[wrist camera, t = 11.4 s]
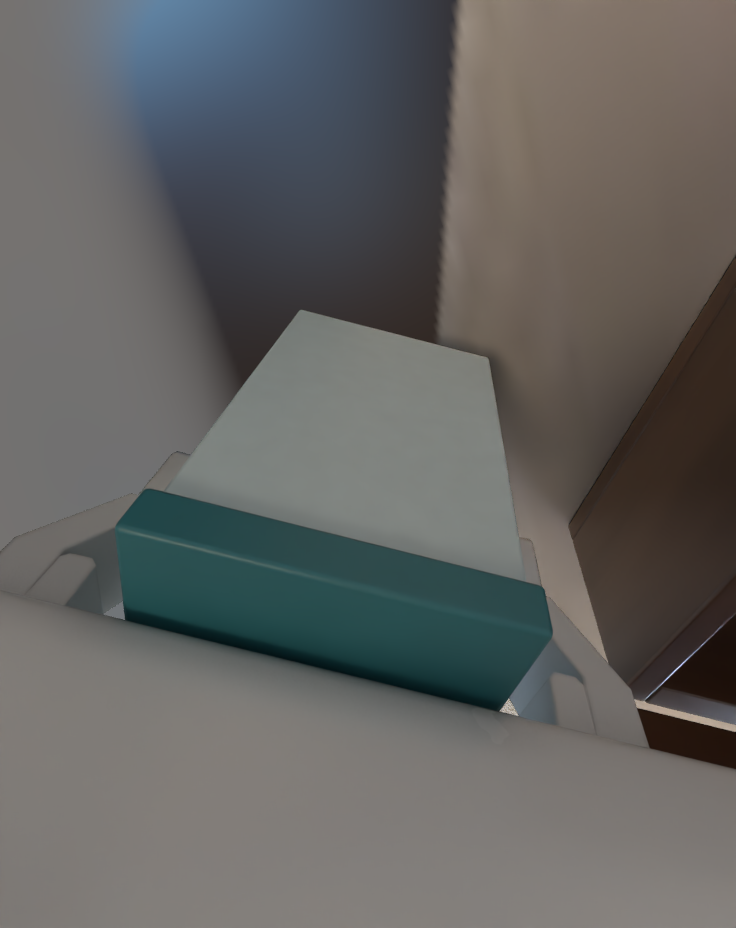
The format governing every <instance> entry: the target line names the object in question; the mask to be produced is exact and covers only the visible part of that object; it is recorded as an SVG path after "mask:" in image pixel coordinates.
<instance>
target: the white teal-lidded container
mask: <svg viewBox="0 0 736 928" xmlns="http://www.w3.org/2000/svg"><path fill="white" fill-rule="evenodd" d="M115 538H116V546H117V555H118V563H119V571H120V580H121V588H122V597H123V605H124V613H125V620H127V621H131V622H135V623H139V624H143V625H147V626H151V627H155V628H159V629H164V630H168V631H172V632H176V633H180V634H184V635H188V636H192V637H196V638H200V639H205V640H209V641H213V642H217V643H221V644H225V645H229V646H233V647H237V648H241V649H245V650H250V651H254V652H258V653H262V654H266V655H270V656H274V657H278V658H282V659H286V660H291V661H295V662H299V663H303V664H307V665H311V666H315V667H319V668H323V669H327V670H331V671H336V672H340V673H344V674H348V675H352V676H356V677H360V678H364V679H368V680H372V681H376V682H381V683H385V684H389V685H393V686H397V687H401V688H405V689H409V690H413V691H417V692H421V693H426V694H430V695H434V696H438V697H442V698H446V699H450V700H454V701H458V702H462V703H467V704H471V705H475V706H479V707H483V708H487V709H491V710H495V711H500V710H501V708H502V707H503V705H504V704H505V703H506V701H507V700H508V698H509V697H510V696H511V694H512V693H513V691H514V690H515V689H516V687H517V686H518V685H519V683H520V682H521V680H522V679H523V678H524V676H525V675H526V673H527V672H528V671H529V669H530V668H531V666H532V665H533V664H534V662H535V661H536V659H537V658H538V657H539V655H540V654H541V653H542V651H543V650H544V648H545V647H546V646H547V644H548V643H549V641H550V640H551V639H552V636H553V628H552V623H551V618H550V614H549V609H548V604H547V599H546V594H545V590H544V588H543V587H541V586H540V585H537V584H533V583H529V582H527V581H526V575H525V569H524V563H523V557H522V551H521V545H520V540H519V534H518V528H517V522H516V516H515V510H514V504H513V498H512V493H511V487H510V481H509V475H508V469H507V463H506V457H505V451H504V445H503V440H502V434H501V428H500V422H499V416H498V410H497V404H496V398H495V392H494V387H493V381H492V375H491V369H490V363H489V359H488V358H487V357H483V356H479V355H475V354H472V353H468V352H464V351H460V350H456V349H452V348H448V347H444V346H440V345H437V344H433V343H429V342H425V341H421V340H417V339H413V338H409V337H405V336H402V335H398V334H394V333H390V332H386V331H382V330H378V329H374V328H370V327H366V326H362V325H358V324H355V323H351V322H347V321H343V320H339V319H335V318H331V317H328V316H324V315H320V314H316V313H312V312H308V311H304V310H300V311H299V312H298V313H297V314H296V316H295V317H294V318H293V320H292V321H291V322H290V324H289V325H288V326H287V328H286V329H285V330H284V332H283V333H282V334H281V336H280V337H279V338H278V340H277V341H276V342H275V344H274V345H273V347H272V348H271V349H270V350H269V352H268V353H267V354H266V356H265V357H264V358H263V360H262V361H261V362H260V364H259V365H258V366H257V368H256V369H255V370H254V372H253V373H252V374H251V376H250V377H249V378H248V380H247V381H246V382H245V383H244V385H243V386H242V387H241V389H240V390H239V392H238V393H237V394H236V396H235V397H234V398H233V400H232V401H231V402H230V403H229V405H228V406H227V408H226V409H225V410H224V412H223V413H222V414H221V415H220V417H219V418H218V419H217V421H216V422H215V423H214V425H213V426H212V427H211V429H210V430H209V431H208V433H207V434H206V435H205V437H204V438H203V439H202V441H201V442H200V443H199V445H198V446H197V447H196V449H195V450H194V451H193V453H192V454H191V455H190V457H189V458H188V459H187V460H186V462H185V463H184V464H183V466H182V467H181V468H180V470H179V471H178V472H177V474H176V475H175V476H174V478H173V479H172V480H171V482H170V483H169V484H168V486H167V487H166V488H165V490H164V491H160V490H156V489H151V488H148V489H145V490H143V491H142V493H141V494H140V495H139V496H138V497H137V499H136V500H135V501H134V502H133V504H132V505H131V506H130V507H129V509H128V510H127V511H126V512H125V514H124V515H123V516H122V517H121V518H120V520H119V521H118V522H117V524H116V526H115Z"/></svg>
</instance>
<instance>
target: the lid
mask: <svg viewBox="0 0 736 928" xmlns="http://www.w3.org/2000/svg"><path fill="white" fill-rule="evenodd" d="M637 710H638V713H639V716H640V720H641V723H642V726H643V729H644V732H645V735H646V738H647V742H648V745H649V748H651V749H655V750H659V751H663V752H667V753H671V754H675V755H679V756H683V757H687V758H692V759H696V760H700V761H704V762H708V763H712V764H716V765H720V766H724V767H728V768H733V769H736V732H732V731H728V730H724V729H720V728H716V727H712V726H708V725H704V724H700V723H696V722H692V721H688V720H684V719H680V718H676V717H672V716H668V715H663V714H659V713H655V712H651V711H647V710H643V709H639V708H637Z"/></svg>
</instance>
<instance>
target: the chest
mask: <svg viewBox="0 0 736 928" xmlns="http://www.w3.org/2000/svg"><path fill="white" fill-rule="evenodd" d="M569 530H570V533H571V537H572V539H573V543H574V547H575V550H576V554H577V557H578V560H579V564H580V567H581V571H582V574H583V578H584V581H585V585H586V588H587V591H588V595H589V598H590V602H591V605H592V609H593V612H594V616H595V619H596V622H597V626H598V629H599V633H600V636H601V640H602V643H603V647H604V650H605V653H606V657H607V660H608V664H609V665H610V666H611V667H612V669H613V670H614V671H615V672H616V673H617V674H618V675H619V677H620V678H621V679H622V680H623V681H624V682H625V683H626V685H627V686H628V687H629V688H630V689H631V691H632V695H633V698H634V699H636V700H640V701H645V702H646V703H649V704H653V705H657V706H661V707H665V708H669V709H673V710H677V711H682V712H686V713H690V714H694V715H698V716H702V717H706V718H710V719H714V720H718V721H722V722H726V723H730V724H734V725H736V257H735V258H734V260H733V262H732V263H731V265H730V267H729V268H728V270H727V271H726V273H725V275H724V276H723V278H722V279H721V281H720V283H719V284H718V286H717V288H716V289H715V291H714V292H713V294H712V296H711V297H710V299H709V300H708V302H707V304H706V305H705V307H704V308H703V310H702V312H701V313H700V315H699V317H698V318H697V320H696V321H695V323H694V325H693V326H692V328H691V329H690V331H689V333H688V334H687V336H686V337H685V339H684V341H683V342H682V344H681V346H680V347H679V349H678V350H677V352H676V354H675V355H674V357H673V358H672V360H671V362H670V363H669V365H668V366H667V368H666V370H665V371H664V373H663V375H662V376H661V378H660V379H659V381H658V383H657V384H656V386H655V387H654V389H653V391H652V392H651V394H650V396H649V397H648V399H647V400H646V402H645V404H644V405H643V407H642V408H641V410H640V412H639V413H638V415H637V416H636V418H635V420H634V421H633V423H632V425H631V426H630V428H629V429H628V431H627V433H626V434H625V436H624V437H623V439H622V441H621V442H620V444H619V445H618V447H617V449H616V450H615V452H614V454H613V455H612V457H611V458H610V460H609V462H608V463H607V465H606V466H605V468H604V470H603V471H602V473H601V475H600V476H599V478H598V479H597V481H596V483H595V484H594V486H593V487H592V489H591V491H590V492H589V494H588V495H587V497H586V499H585V500H584V502H583V504H582V505H581V507H580V508H579V510H578V512H577V513H576V515H575V516H574V518H573V520H572V521H571V523H570V524H569Z"/></svg>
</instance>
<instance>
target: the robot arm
mask: <svg viewBox="0 0 736 928" xmlns="http://www.w3.org/2000/svg"><path fill="white" fill-rule="evenodd" d="M189 457H190V454H186V453H182V452H178V451H177V452H175V453H173V454H171V455H170V457H169V458H168V459H167V460H166V461H165V463H164V464H163V465H162V466H161V468H160V469H159V470H158V471H157V472H156V474H155V475H154V476H153V477H152V479H151V480H150V481H149V482H148V483H147V485H146V486H145V487H144V488H143V490H145V489H148V488H151V489H156V490H160V491H164V490H165V488H166V487H167V486H168V484H169V483H170V482H171V480H172V479H173V478H174V476H175V475H176V474H177V472H178V471H179V470H180V468H181V467H182V466H183V464H184V463H185V462H186V460H187V459H188V458H189ZM143 490H142V491H143ZM142 491H141V492H140V493H139V494H138V495H136V494H132V493H131V494H128V495H126V496H123V497H120V498H118V499H115V500H113V501H110V502H107V503H105V504H102V505H99V506H96V507H94V508H91V509H89V510H86V511H83V512H81V513H78V514H75V515H72V516H70V517H67V518H64V519H62V520H59V521H57V522H54V523H51V524H48V525H46V526H43V527H40V528H38V529H35V530H33V531H30V532H27V533H25V534H22V535H19V536H16V537H14V538H13V539H12V540H11V542H9V544H7V545H6V546H5V547H4V548H3V549H2V550H1V551H0V928H736V769H733V768H728V767H724V766H720V765H716V764H712V763H708V762H704V761H700V760H696V759H692V758H687V757H683V756H679V755H675V754H671V753H667V752H663V751H659V750H655V749H651V748H649V745H648V742H647V738H646V735H645V732H644V729H643V726H642V723H641V720H640V716H639V713H638V710H637V707H636V704H635V701H634V698H633V695H632V691H631V689H630V688H629V687H628V686H627V685H626V683H625V682H624V681H623V680H622V679H621V678H620V677H619V675H618V674H617V673H616V672H615V671H614V670H613V669H612V667H611V666H610V665H609V664H608V663H607V662H606V661H605V659H604V658H603V657H602V656H601V655H600V654H599V653H598V651H597V650H596V649H595V648H594V647H593V646H592V645H591V643H590V642H589V641H588V640H587V639H586V638H585V637H584V635H583V634H582V633H581V632H580V631H579V630H578V629H577V628H576V626H575V625H574V624H573V623H572V622H571V621H570V620H569V618H568V617H567V616H566V615H565V614H564V613H563V612H562V610H561V609H560V608H559V607H558V606H557V605H556V604H555V602H554V601H553V600H552V599H551V598H550V597H546V599H547V604H548V609H549V614H550V618H551V623H552V628H553V636H552V639H551V640H550V641H549V643H548V644H547V646H546V647H545V648H544V650H543V651H542V653H541V654H540V655H539V657H538V658H537V659H536V661H535V662H534V664H533V665H532V666H531V668H530V669H529V671H528V672H527V673H526V675H525V676H524V678H523V679H522V680H521V682H520V683H519V685H518V686H517V687H516V689H515V690H514V691H513V693H512V694H511V696H510V697H509V699H510V701H511V702H512V704H513V706H514V708H515V710H516V711H517V713H518V715H519V716H516V715H511V714H507V713H503V712H499V711H495V710H491V709H487V708H483V707H479V706H475V705H471V704H467V703H462V702H458V701H454V700H450V699H446V698H442V697H438V696H434V695H430V694H426V693H421V692H417V691H413V690H409V689H405V688H401V687H397V686H393V685H389V684H385V683H381V682H376V681H372V680H368V679H364V678H360V677H356V676H352V675H348V674H344V673H340V672H336V671H331V670H327V669H323V668H319V667H315V666H311V665H307V664H303V663H299V662H295V661H291V660H286V659H282V658H278V657H274V656H270V655H266V654H262V653H258V652H254V651H250V650H245V649H241V648H237V647H233V646H229V645H225V644H221V643H217V642H213V641H209V640H205V639H200V638H196V637H192V636H188V635H184V634H180V633H176V632H172V631H168V630H164V629H159V628H155V627H151V626H147V625H143V624H139V623H135V622H131V621H127V620H123V619H118V618H114V617H110V616H106V615H103V613H105V612H106V611H108V610H109V609H111V608H113V607H114V606H116V605H117V604H119V603H120V602H122V601H123V597H122V588H121V580H120V571H119V563H118V555H117V546H116V538H115V526H116V524H117V522H118V521H119V520H120V518H121V517H122V516H123V515H124V514H125V512H126V511H127V510H128V509H129V507H130V506H131V505H132V504H133V502H134V501H135V500H136V499H137V497H138V496H139V495H140V494H141V493H142ZM519 540H520V545H521V551H522V557H523V563H524V569H525V575H526V581H527V582H529V583H533V584H537V585H540V586H541V587H542V585H541V580H540V576H539V571H538V566H537V561H536V557H535V552H534V547H533V543H532V542H531V540H530V539H526V538H521V537H519Z"/></svg>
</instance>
